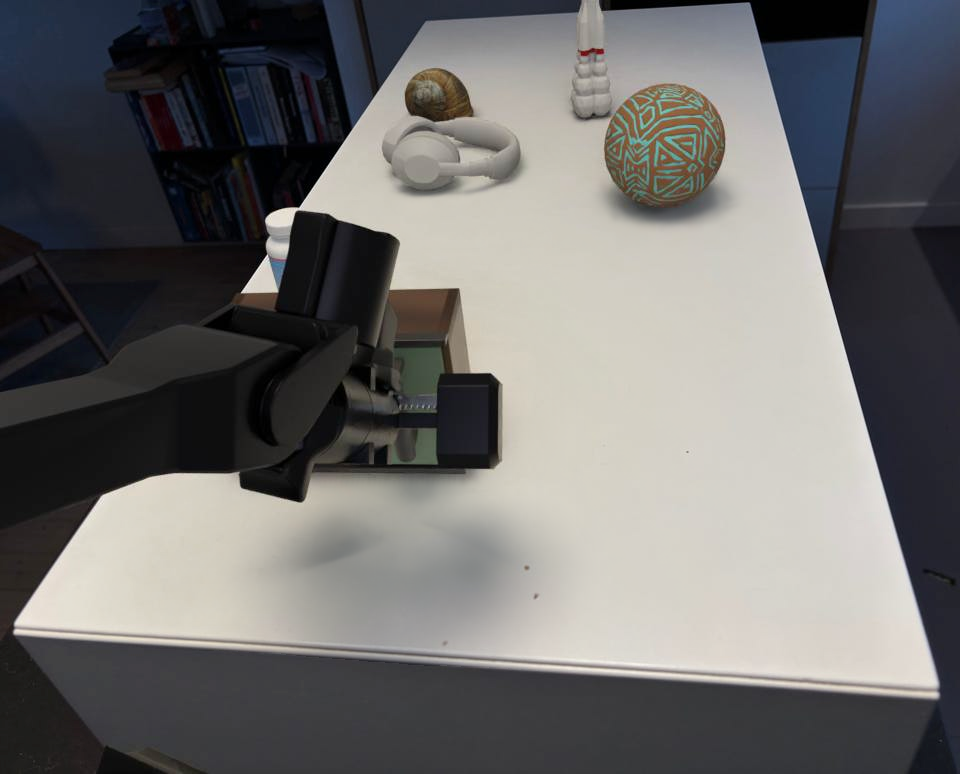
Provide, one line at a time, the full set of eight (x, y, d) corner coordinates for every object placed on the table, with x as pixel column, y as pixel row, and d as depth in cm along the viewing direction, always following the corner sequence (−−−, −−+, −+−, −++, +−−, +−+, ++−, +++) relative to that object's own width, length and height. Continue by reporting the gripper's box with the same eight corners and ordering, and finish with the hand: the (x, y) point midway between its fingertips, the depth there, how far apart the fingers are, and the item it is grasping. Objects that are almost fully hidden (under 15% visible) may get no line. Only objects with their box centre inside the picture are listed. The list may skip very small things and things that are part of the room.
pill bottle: (318, 320, 93) (294, 232, 86) (273, 313, 95) (247, 227, 88) (343, 292, 97) (323, 206, 90) (300, 286, 99) (276, 202, 92)
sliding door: (451, 496, 68) (431, 377, 60) (345, 495, 70) (311, 378, 62) (458, 460, 72) (440, 343, 64) (356, 459, 73) (326, 344, 65)
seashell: (404, 130, 137) (397, 82, 132) (411, 110, 144) (404, 64, 139) (471, 125, 135) (466, 77, 130) (475, 105, 143) (470, 58, 138)
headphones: (403, 205, 112) (537, 191, 118) (402, 150, 108) (541, 138, 114) (373, 159, 126) (494, 148, 132) (370, 108, 122) (496, 99, 127)
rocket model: (597, 125, 130) (595, -89, 112) (560, 118, 134) (552, -90, 116) (622, 110, 134) (624, -99, 116) (585, 103, 138) (581, -100, 120)
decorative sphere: (738, 188, 108) (751, 74, 99) (688, 238, 100) (697, 117, 90) (638, 169, 116) (640, 61, 107) (583, 213, 107) (580, 99, 98)
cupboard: (465, 473, 71) (445, 339, 62) (249, 471, 74) (200, 343, 65) (476, 412, 78) (459, 283, 69) (276, 413, 81) (235, 289, 72)
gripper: (485, 273, 46) (514, 322, 62) (180, 281, 49) (281, 326, 65) (483, 469, 45) (514, 469, 61) (172, 466, 48) (276, 467, 63)
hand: (393, 427), depth 62 cm, fingers open, 9 cm apart
